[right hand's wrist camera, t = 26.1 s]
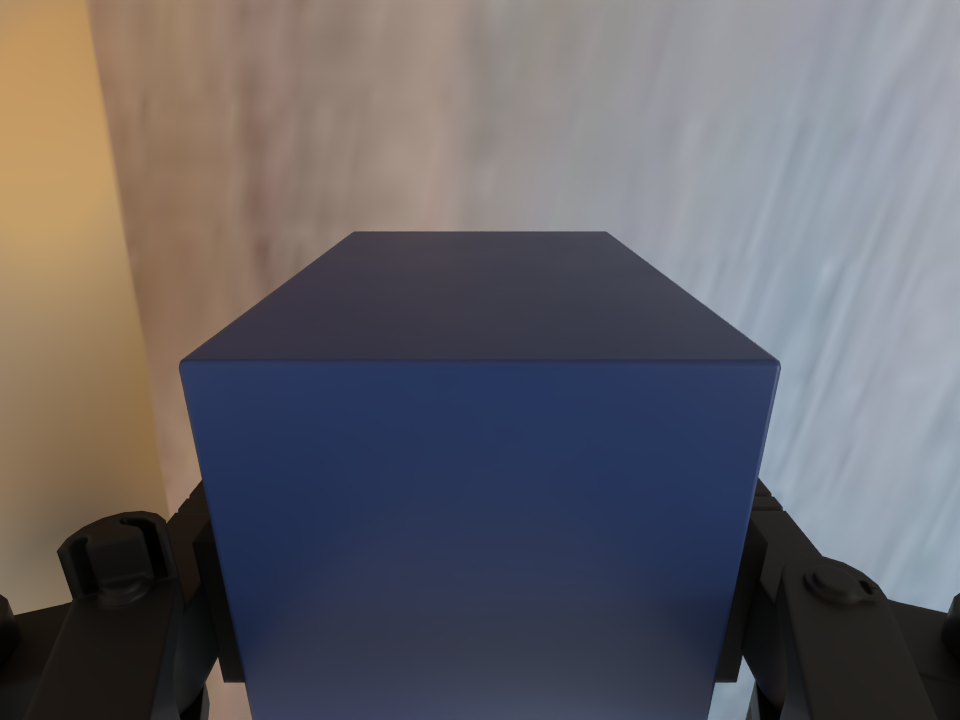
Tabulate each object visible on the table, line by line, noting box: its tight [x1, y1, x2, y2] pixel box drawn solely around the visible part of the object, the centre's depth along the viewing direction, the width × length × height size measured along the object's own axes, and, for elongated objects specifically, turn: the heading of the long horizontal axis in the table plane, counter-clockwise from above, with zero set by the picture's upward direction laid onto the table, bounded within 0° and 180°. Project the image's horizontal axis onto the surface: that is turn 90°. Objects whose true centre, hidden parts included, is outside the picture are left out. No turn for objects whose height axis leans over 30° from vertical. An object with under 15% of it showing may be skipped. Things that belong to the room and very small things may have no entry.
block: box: [179, 232, 781, 720], centre depth 12 cm, size 9×7×9 cm
